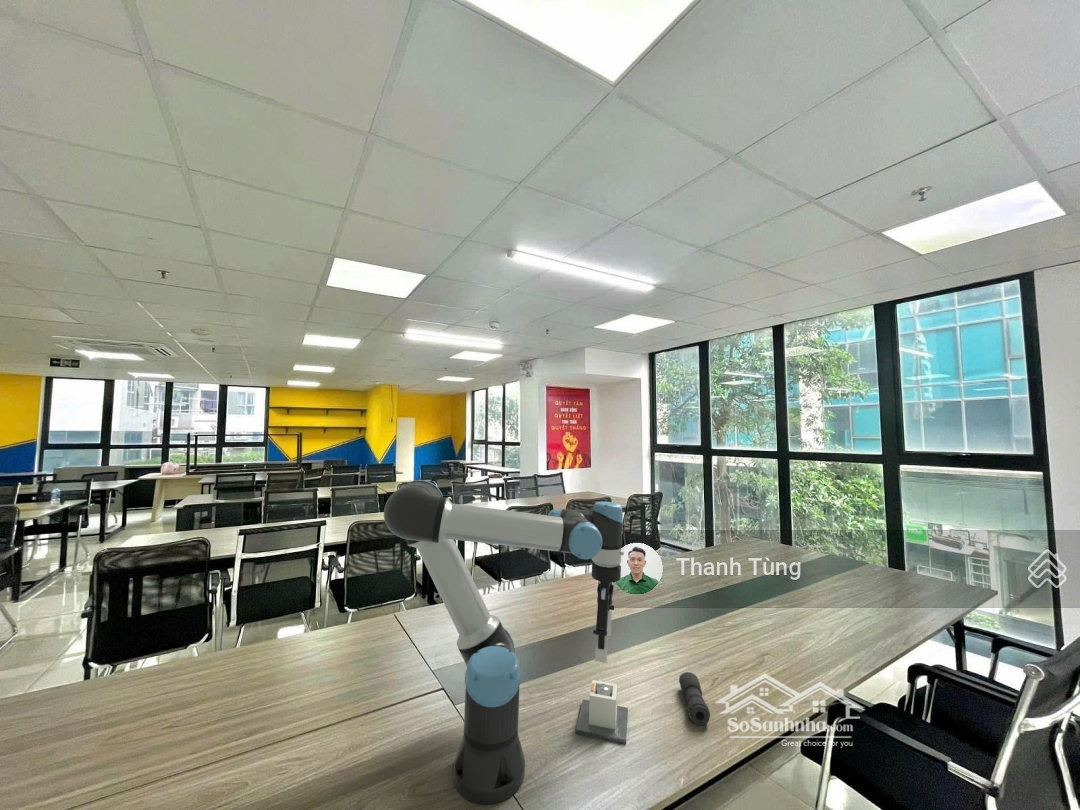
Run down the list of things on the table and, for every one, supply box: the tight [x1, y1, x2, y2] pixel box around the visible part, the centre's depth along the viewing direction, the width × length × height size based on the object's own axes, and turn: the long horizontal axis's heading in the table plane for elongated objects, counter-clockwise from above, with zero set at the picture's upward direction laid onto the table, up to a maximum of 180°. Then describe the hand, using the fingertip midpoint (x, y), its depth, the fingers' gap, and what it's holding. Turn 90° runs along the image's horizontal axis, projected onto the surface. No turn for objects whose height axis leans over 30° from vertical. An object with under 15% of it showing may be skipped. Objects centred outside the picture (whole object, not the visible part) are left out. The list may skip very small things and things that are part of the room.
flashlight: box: [678, 670, 711, 726], centre depth 113 cm, size 15×5×5 cm, turn 171°
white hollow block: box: [588, 679, 618, 729], centre depth 106 cm, size 6×6×7 cm
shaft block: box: [575, 684, 629, 745], centre depth 106 cm, size 12×12×8 cm
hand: (603, 647), depth 107 cm, fingers open, 13 cm apart
